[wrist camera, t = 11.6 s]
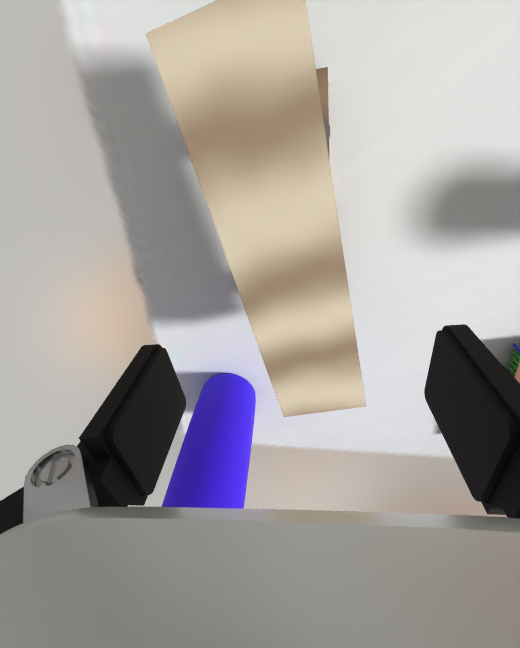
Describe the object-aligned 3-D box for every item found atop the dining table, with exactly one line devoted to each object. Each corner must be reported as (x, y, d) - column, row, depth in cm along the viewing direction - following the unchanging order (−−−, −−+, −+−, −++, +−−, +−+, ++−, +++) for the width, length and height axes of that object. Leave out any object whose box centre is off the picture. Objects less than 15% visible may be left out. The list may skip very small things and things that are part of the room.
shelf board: (184, 60, 17) (145, 33, 12) (296, 12, 16) (299, -38, 11) (284, 371, 29) (283, 417, 24) (353, 360, 28) (366, 406, 23)
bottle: (227, 361, 41) (133, 717, 16) (268, 394, 44) (242, 741, 19) (191, 389, 45) (66, 716, 20) (231, 418, 48) (167, 736, 23)
